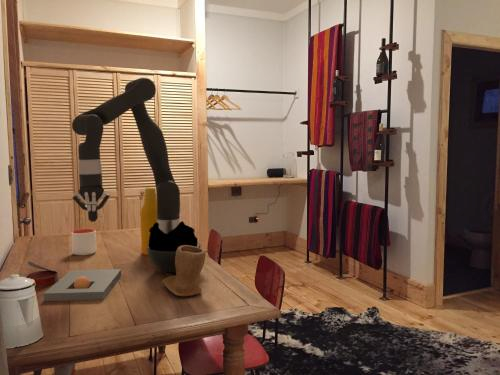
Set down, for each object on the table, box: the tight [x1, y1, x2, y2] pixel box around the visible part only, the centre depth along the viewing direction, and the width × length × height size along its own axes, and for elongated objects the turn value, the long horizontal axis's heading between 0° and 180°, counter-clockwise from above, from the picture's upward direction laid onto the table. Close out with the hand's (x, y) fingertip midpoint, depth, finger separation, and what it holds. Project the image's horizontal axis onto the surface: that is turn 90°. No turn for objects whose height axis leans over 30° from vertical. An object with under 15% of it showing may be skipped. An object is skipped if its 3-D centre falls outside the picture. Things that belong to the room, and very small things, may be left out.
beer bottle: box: [139, 187, 157, 256], centre depth 187 cm, size 9×9×29 cm
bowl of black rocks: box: [147, 220, 201, 273], centre depth 160 cm, size 20×20×19 cm
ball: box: [74, 277, 90, 289], centre depth 139 cm, size 5×5×5 cm
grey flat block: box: [43, 268, 122, 302], centre depth 143 cm, size 18×24×2 cm
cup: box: [71, 228, 97, 256], centre depth 188 cm, size 10×10×10 cm
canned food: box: [26, 260, 59, 288], centre depth 149 cm, size 11×10×10 cm
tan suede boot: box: [162, 245, 206, 297], centre depth 139 cm, size 15×12×15 cm
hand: (93, 221), depth 150 cm, fingers closed
